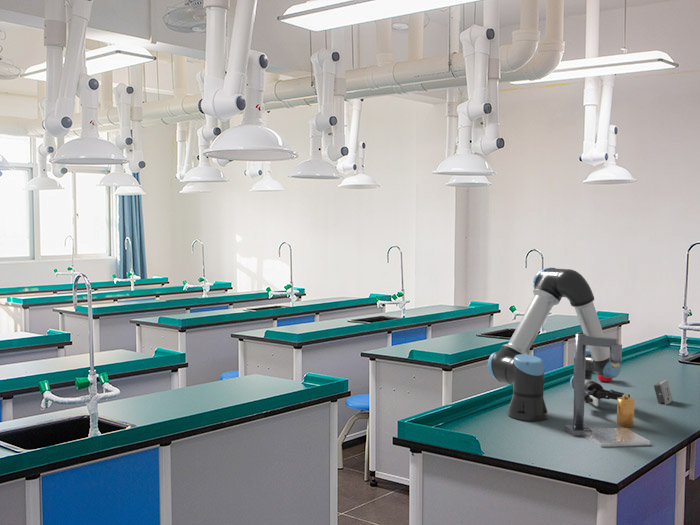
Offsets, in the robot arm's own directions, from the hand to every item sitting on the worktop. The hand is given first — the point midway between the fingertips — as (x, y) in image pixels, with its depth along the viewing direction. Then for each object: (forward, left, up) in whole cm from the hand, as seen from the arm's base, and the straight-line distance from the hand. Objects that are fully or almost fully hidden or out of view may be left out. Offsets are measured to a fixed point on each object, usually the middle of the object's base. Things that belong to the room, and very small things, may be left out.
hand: (614, 402), depth 270 cm
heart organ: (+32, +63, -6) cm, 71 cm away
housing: (-1, -10, -6) cm, 11 cm away
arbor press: (-17, -24, -6) cm, 30 cm away
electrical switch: (+35, +21, -6) cm, 42 cm away
